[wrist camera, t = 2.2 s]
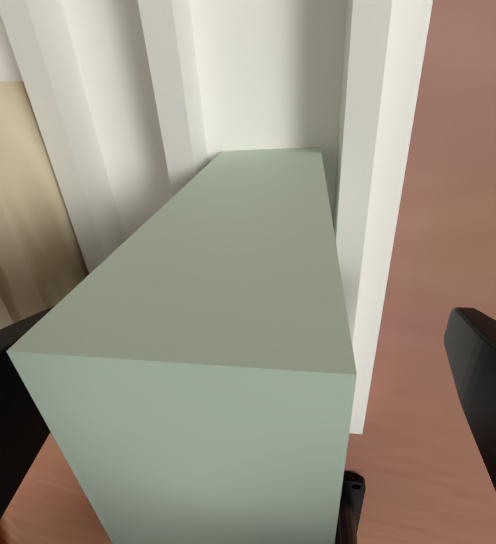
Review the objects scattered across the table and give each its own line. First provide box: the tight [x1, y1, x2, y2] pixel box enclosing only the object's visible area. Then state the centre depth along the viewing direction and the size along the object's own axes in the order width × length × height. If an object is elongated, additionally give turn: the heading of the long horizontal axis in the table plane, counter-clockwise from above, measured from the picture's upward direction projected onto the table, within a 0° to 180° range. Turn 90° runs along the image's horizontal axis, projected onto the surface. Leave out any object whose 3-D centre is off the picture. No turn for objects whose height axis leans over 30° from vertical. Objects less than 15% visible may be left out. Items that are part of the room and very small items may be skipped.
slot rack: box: [0, 0, 433, 434], centre depth 12 cm, size 20×15×2 cm
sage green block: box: [6, 147, 357, 544], centre depth 8 cm, size 6×3×9 cm, turn 4°
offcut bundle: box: [0, 81, 89, 329], centre depth 12 cm, size 11×3×4 cm, turn 4°
